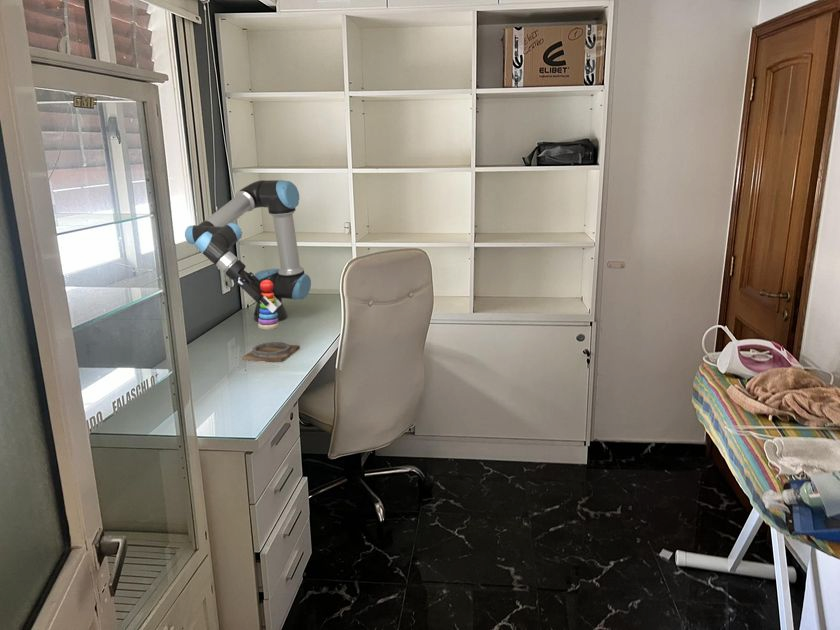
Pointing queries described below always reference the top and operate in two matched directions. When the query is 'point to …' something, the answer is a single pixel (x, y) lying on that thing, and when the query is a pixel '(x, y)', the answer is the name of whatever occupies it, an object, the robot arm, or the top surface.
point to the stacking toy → (266, 316)
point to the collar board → (271, 359)
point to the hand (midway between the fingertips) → (277, 308)
